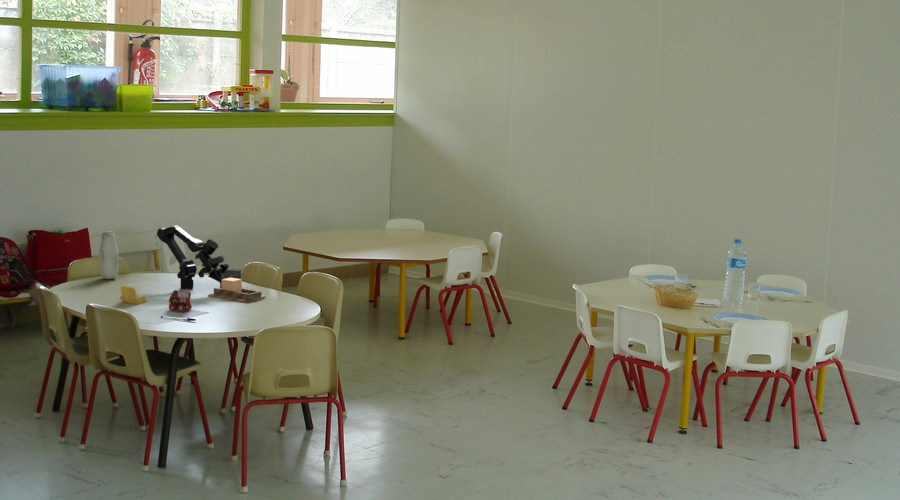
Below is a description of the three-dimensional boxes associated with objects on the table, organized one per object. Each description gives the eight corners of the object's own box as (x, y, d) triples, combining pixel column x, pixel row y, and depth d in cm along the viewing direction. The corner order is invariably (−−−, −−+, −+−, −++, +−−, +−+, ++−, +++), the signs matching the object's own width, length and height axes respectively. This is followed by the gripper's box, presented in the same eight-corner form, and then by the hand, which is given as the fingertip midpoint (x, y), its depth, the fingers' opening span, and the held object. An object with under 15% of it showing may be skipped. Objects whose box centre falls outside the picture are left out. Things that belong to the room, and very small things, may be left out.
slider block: (221, 294, 532) (221, 279, 531) (230, 292, 538) (230, 277, 537) (232, 295, 528) (232, 281, 527) (241, 293, 534) (241, 279, 533)
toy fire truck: (174, 308, 501) (173, 288, 499) (194, 310, 496) (194, 290, 495) (165, 310, 494) (165, 290, 493) (186, 313, 490) (186, 292, 488)
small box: (241, 287, 558) (241, 268, 557) (238, 289, 552) (238, 270, 550) (223, 286, 559) (223, 268, 558) (219, 288, 553) (219, 270, 551)
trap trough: (208, 296, 531) (208, 289, 530) (228, 291, 545) (228, 284, 544) (245, 302, 518) (245, 295, 517) (265, 297, 532) (265, 290, 531)
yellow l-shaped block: (147, 301, 514) (147, 284, 512) (134, 305, 505) (134, 287, 504) (131, 299, 518) (131, 282, 516) (118, 302, 509) (118, 285, 508)
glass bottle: (104, 276, 575) (103, 229, 570) (121, 277, 574) (120, 230, 569) (96, 280, 565) (95, 231, 560) (114, 280, 564) (113, 232, 559)
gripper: (201, 253, 528) (217, 275, 524) (226, 248, 544) (241, 270, 540) (191, 265, 533) (206, 288, 529) (215, 261, 549) (230, 283, 545)
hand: (221, 282), depth 536 cm, fingers closed
